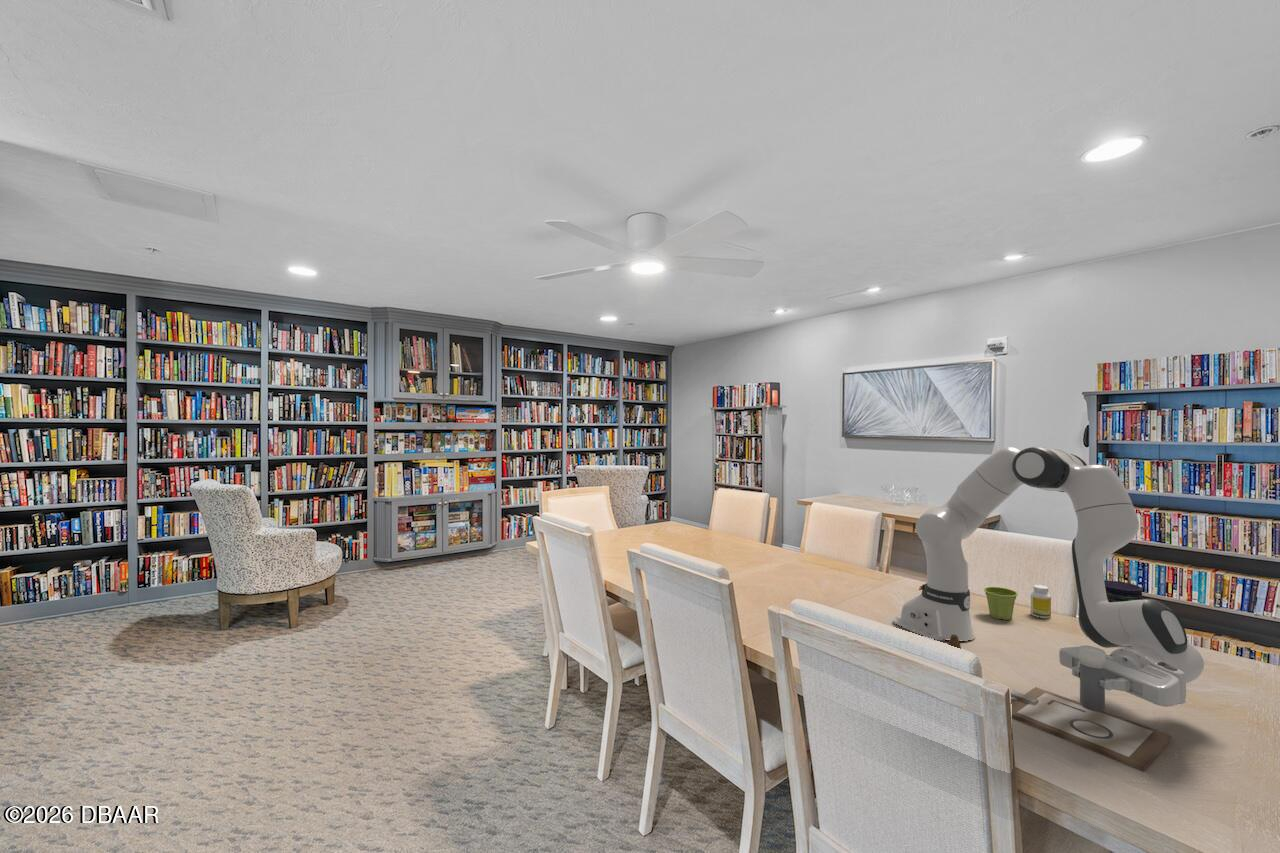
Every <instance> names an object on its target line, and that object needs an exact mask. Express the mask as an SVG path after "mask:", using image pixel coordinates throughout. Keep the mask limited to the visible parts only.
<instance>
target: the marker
mask: <svg viewBox="0 0 1280 853" xmlns="http://www.w3.org/2000/svg"><path fill="white" fill-rule="evenodd" d="M1078 647H1079V662H1080V678H1079V703H1080V705H1081V706H1082V707H1084V708H1086V709H1088V710H1092V711H1096V712H1103V711H1105V712H1106V689H1104V688H1102V687H1100V686H1099V684H1100V682H1099V680H1100V679H1101V678H1105V654H1106V651H1105V650H1104V649H1102V648H1099V647H1095V646H1091V645H1079V646H1078Z"/></svg>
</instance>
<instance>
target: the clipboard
mask: <svg viewBox="0 0 1280 853" xmlns="http://www.w3.org/2000/svg"><path fill="white" fill-rule="evenodd" d="M1010 693H1011V698H1013V699H1015V700H1013V701H1012V702H1011V703H1012V717H1011V718H1012V719H1015V720H1017V721H1019V722H1021V723H1025V724H1027V725H1030V726H1032V727H1034V728H1036V729H1039V730H1041V731H1043V732H1046V733H1049V734H1052V735H1054V736H1056V737H1059V738H1061V739H1064V740H1067V741H1069V742H1071V743H1073V744H1075V745H1079V746H1081V747H1083V748H1086V749H1088V750H1091V751H1093V752H1095V753H1098V754H1101V755H1103V756H1105V757H1108V758H1110V759H1113V760H1115V761H1117V762H1120V763H1122V764H1125V765H1127V766H1130V767H1132V768H1134V769H1137V770H1139V771H1143V772H1144V771H1145V770H1146V769H1147V768H1148V767H1149V766H1150V765H1151V764H1152V763H1153V761H1154V760H1155V759H1156V758H1157V757H1158V756H1159V755H1160V754H1161V752H1162V751H1163V750H1164V749H1165V748H1166V746H1167V745H1168V744H1169V742H1171V741H1170V740H1172V739H1173V738H1172V737H1173V735H1172V734H1169V733H1167V732H1165V731H1161V730H1158V729H1155V728H1153V727H1150V726H1146V725H1144V724H1141V723H1139V722H1135V721H1132V720H1129V719H1127V718H1124V717H1121V716H1118V715H1116V714H1113V713H1109V712H1107V711H1106V710H1105V711H1103V712H1096V711H1092V710H1088V709H1086V708H1084V707H1082V706H1081V705H1080V701H1076V700H1073V699H1070V698H1068V697H1066V696H1065V697H1064V696H1063V695H1059V694H1056V693H1054V692H1051V691H1049V690H1046V689H1043V688H1040V687H1037V686H1035V687H1034V688H1032V689H1031V690H1029V691H1028V692H1026V693H1021V692H1019V691H1016V690H1012V691H1011V692H1010ZM1162 749H1163V750H1162Z"/></svg>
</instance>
